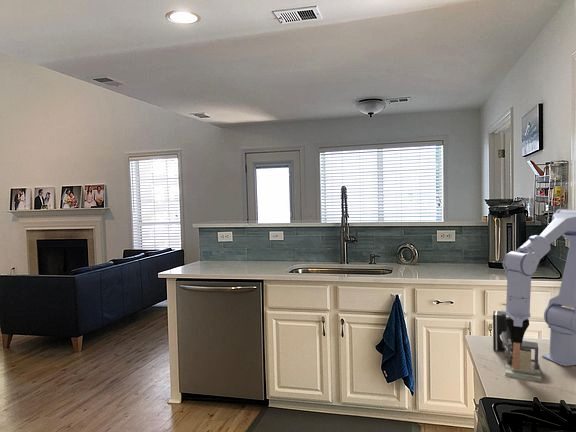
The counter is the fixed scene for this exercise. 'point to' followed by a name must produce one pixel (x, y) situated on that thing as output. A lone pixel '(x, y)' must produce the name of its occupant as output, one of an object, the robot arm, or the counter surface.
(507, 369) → the track board
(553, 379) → the counter surface
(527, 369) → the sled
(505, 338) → the tin
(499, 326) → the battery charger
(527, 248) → the robot arm
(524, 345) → the grey box
